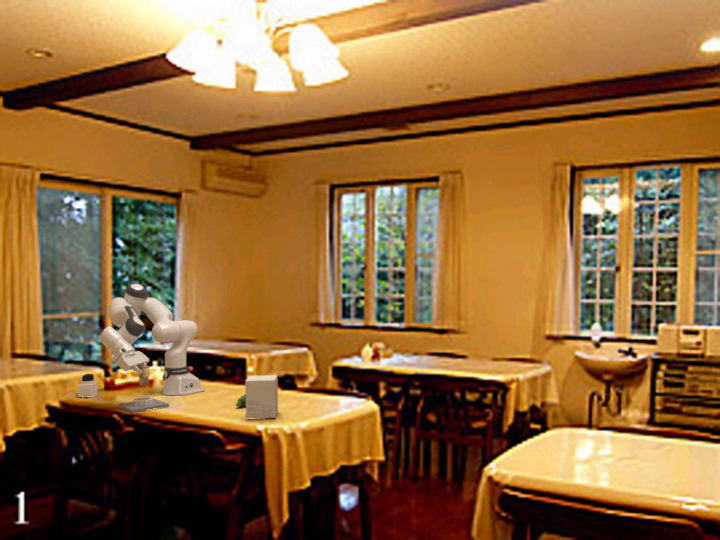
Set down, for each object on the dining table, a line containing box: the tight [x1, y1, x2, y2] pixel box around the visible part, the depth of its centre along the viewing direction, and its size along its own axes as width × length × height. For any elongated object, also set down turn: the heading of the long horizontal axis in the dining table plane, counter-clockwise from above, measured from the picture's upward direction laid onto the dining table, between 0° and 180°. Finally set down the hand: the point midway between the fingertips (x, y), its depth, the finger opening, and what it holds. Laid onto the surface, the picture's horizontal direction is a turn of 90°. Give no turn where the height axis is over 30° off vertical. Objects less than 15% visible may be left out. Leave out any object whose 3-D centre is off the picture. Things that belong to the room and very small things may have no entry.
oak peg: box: [138, 365, 150, 386], centre depth 310 cm, size 4×4×9 cm
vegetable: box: [235, 393, 246, 408], centre depth 312 cm, size 7×7×20 cm
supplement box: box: [244, 374, 279, 419], centre depth 288 cm, size 13×13×18 cm
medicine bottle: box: [77, 373, 98, 397], centre depth 338 cm, size 7×7×12 cm
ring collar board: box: [117, 396, 170, 414], centre depth 311 cm, size 18×18×4 cm
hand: (144, 372), depth 310 cm, fingers closed on oak peg, 4 cm apart
